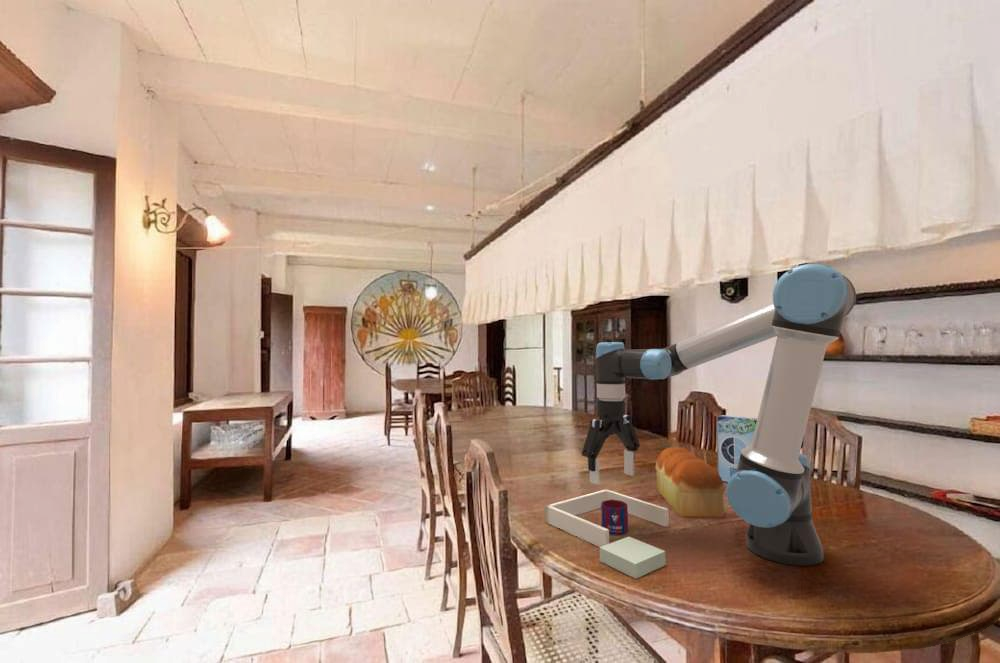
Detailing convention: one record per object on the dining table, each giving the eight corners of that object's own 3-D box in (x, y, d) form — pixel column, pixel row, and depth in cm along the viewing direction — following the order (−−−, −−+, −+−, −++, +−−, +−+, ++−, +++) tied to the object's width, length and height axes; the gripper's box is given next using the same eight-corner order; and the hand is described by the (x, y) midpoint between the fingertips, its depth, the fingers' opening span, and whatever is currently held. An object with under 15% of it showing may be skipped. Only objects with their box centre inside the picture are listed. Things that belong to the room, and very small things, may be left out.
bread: (725, 518, 127) (723, 464, 128) (679, 517, 128) (678, 464, 128) (694, 490, 152) (692, 445, 152) (656, 490, 153) (654, 445, 153)
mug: (601, 534, 117) (601, 507, 117) (602, 520, 127) (601, 495, 127) (628, 536, 116) (627, 509, 116) (626, 521, 125) (626, 496, 126)
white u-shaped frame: (668, 525, 121) (668, 508, 122) (605, 550, 108) (605, 530, 108) (606, 504, 140) (606, 489, 140) (545, 522, 126) (545, 505, 126)
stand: (665, 565, 100) (665, 551, 100) (635, 578, 94) (635, 564, 94) (629, 549, 108) (628, 536, 108) (599, 561, 102) (599, 547, 102)
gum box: (718, 481, 161) (716, 416, 162) (725, 478, 165) (722, 414, 166) (779, 493, 146) (776, 422, 147) (785, 490, 150) (782, 420, 151)
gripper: (630, 395, 133) (631, 468, 132) (567, 401, 119) (568, 483, 118) (651, 397, 127) (653, 474, 126) (588, 404, 112) (589, 491, 112)
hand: (612, 478), depth 122 cm, fingers open, 13 cm apart
